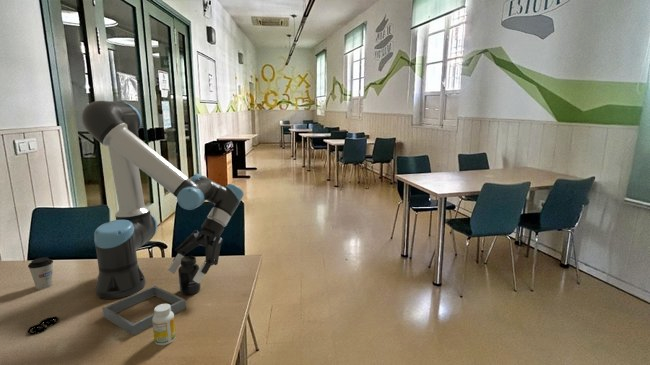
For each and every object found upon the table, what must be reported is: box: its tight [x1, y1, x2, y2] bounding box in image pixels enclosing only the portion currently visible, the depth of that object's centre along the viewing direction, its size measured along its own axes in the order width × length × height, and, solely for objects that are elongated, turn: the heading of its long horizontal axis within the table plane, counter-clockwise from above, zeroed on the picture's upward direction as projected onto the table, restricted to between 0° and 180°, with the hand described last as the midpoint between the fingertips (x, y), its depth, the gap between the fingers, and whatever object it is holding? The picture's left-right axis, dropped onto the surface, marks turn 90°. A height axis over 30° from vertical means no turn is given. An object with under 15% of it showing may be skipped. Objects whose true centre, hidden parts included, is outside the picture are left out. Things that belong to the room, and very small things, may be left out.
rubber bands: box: [27, 316, 59, 335], centre depth 101 cm, size 5×8×1 cm, turn 169°
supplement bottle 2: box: [177, 255, 201, 296], centre depth 120 cm, size 7×7×12 cm
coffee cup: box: [27, 256, 54, 290], centre depth 123 cm, size 7×7×10 cm
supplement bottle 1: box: [152, 303, 177, 346], centre depth 94 cm, size 5×5×10 cm
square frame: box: [102, 285, 187, 336], centre depth 107 cm, size 17×17×3 cm
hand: (182, 276), depth 118 cm, fingers open, 13 cm apart
